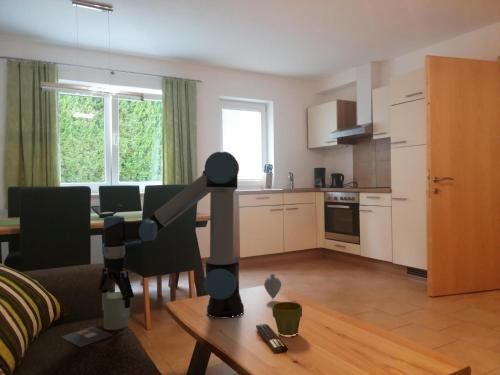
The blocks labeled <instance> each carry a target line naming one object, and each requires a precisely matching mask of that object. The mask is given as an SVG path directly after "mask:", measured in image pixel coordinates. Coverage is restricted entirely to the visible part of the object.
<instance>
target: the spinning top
mask: <svg viewBox="0 0 500 375" xmlns="http://www.w3.org/2000/svg"><path fill="white" fill-rule="evenodd" d="M281 287H282V282H281V280H280V278H279V277H277V276H275V273H270V276H269V277H267V278H266V279H265V280H264V288H265V290H266V292H267V294H268V295H269V296H270V297H271V299H275V298H276V296H277V295H278V294H279V292H280V290H281V289H282V288H281Z"/></svg>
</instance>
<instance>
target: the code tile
mask: <svg viewBox="0 0 500 375" xmlns="http://www.w3.org/2000/svg"><path fill="white" fill-rule="evenodd" d="M111 337H114V334H112V333H110V332H107V331H105V330H103V329H100V328H98V327H97V326H96V327H95V326H90V327H87V328H84V329H81V330H78V331H74V332H72V333H69V334H65V335H62V336H60V338H61V339H63V340H66V341H67V342H69V343H71V344H73V345H75V346H76V347H79V348H81V347H82V348H83V347H85V346H89V345H91V344H93V343H96V342H99V341H101V340H104V339H108V338H111Z"/></svg>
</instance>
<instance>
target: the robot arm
mask: <svg viewBox="0 0 500 375" xmlns="http://www.w3.org/2000/svg"><path fill="white" fill-rule="evenodd" d="M239 171H240V166H239V162H238V160H237V159H236V158H235V156H234V155H233V154H232V153H230V152H228V151H222V150H221V151H215V152H213V153H212V154H210V155H209V156H208V157H207V158H206V161H205V163H204V170H203V171H202V172H201V173H202V174H201V176H199V177H198V178H197V179H195V180H194V181H193V182H191V183H190V184H189V185H187V186H186V187H184V189H182V190H181V191H179V192H178V193H177V194H176V195H175V196H173V197H172V198H171V199H170V200H168V201H167V202H165V203H164V204H163V205H162V206H161V207H159V208H158V209H157V210H156V211H154V212H153V213H151V214H150V215H149V216H147V217H146V218H143V219H141V220H132V221H131V220H129V221H128V220H125V216H123V215H111V216H109V215H108V216H105V217H104V218H103V226H102V227H103V228H102V230H103V232H102V233H103V256H104V260H103V264H104V266H103V267H102V272H101V277H100V282H99V285H98V291H100V293H101V296H102V299H101V300H102V301H101V303H102V311H104V308H103V296H104V295H106V294H108V293H111V291H110V288H111V286H112V284H113V283H114V284H115V285H116V286H117V287H118V290H119V292H121V294H122V296H123V299H122V317H123V318H124V317H127V316H129V317H130V316H131V299H132V298H134V297H135V295H134V291H133V288H132V285H131V281H130V278H129V270H126V271H124V270H123V268H124V267H126V257H125V255H126V242H149V241H155V239H156V238H157V237H158V234H159V233H160V232H161V231H162V230H163V229H164V228H166V227H167V226H168V225H169V224H171V223H172V222H174V221H175V220H176V219H178V218H179V217H180V216H181V215H183V214H184V213H186V211H188V210H189V209H191V208H192V207H193V206H194V205H196V204H197V203H198V202H200V201H201V200H202V199H204V198H205V197H206V196H207V195H208V194H210V196H209V197H210V204H209V206H210V207H209V208H210V210H209V211H210V216H209V218H210V219H209V224H210V225H209V257H207V259H206V260H205V276H204V278H203V288H204V291H205V293H206V294H207V295H208V296H209V300H208V303H207V306H206V313H208V314H209V315H211V316H214V317H213V318H215V317H231V318H233V317H232V316H236V317H238V316H237V315H239V316H241V315H242V314H241V313H243V314H244V311H245V308H244V307H245V306H244V303H243V302H242V298H241V294H240V270H239V265H240V262H239V258H238V256H234V192H235V191H236V190H237V189H238V181H239V180H238V178H239V177H238V175H239ZM208 314H207V315H208ZM240 314H241V315H240ZM209 315H208V316H209ZM211 316H210V317H211Z"/></svg>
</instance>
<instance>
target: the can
mask: <svg viewBox="0 0 500 375" xmlns="http://www.w3.org/2000/svg"><path fill="white" fill-rule="evenodd" d="M122 299H123V296H122V294H121V292H120V291H115V292H114V291H113V292H110V293H108V294H106V295H104V296H103V306H102V309H103V308H104V310H103V326H102V327H103V329H104V330H106V331H107V330H108V331H113V330H114V331H116V330H122V329H125V328H126V327H128V326H129V325H130V318H129V317H130V316H127V317H124V318H123V317H122Z"/></svg>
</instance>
